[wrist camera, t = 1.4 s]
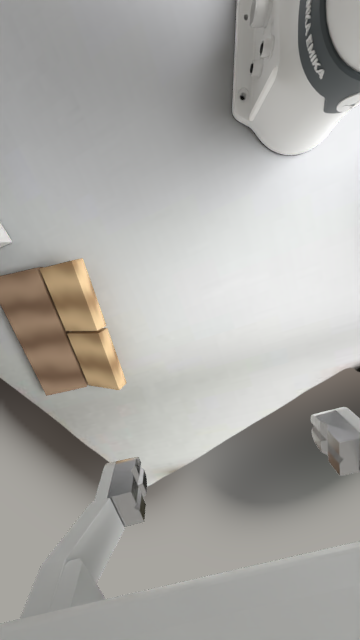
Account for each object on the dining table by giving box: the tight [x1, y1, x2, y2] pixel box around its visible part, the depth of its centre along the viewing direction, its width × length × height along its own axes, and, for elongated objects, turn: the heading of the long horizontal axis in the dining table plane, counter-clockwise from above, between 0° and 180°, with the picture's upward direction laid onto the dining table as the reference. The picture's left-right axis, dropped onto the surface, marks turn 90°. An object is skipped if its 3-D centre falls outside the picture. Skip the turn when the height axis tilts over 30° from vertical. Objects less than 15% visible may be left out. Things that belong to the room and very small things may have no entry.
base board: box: [0, 267, 88, 396], centre depth 40 cm, size 23×8×2 cm, turn 12°
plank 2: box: [67, 328, 126, 390], centre depth 40 cm, size 11×8×2 cm
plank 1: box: [40, 258, 106, 331], centre depth 36 cm, size 11×8×2 cm
